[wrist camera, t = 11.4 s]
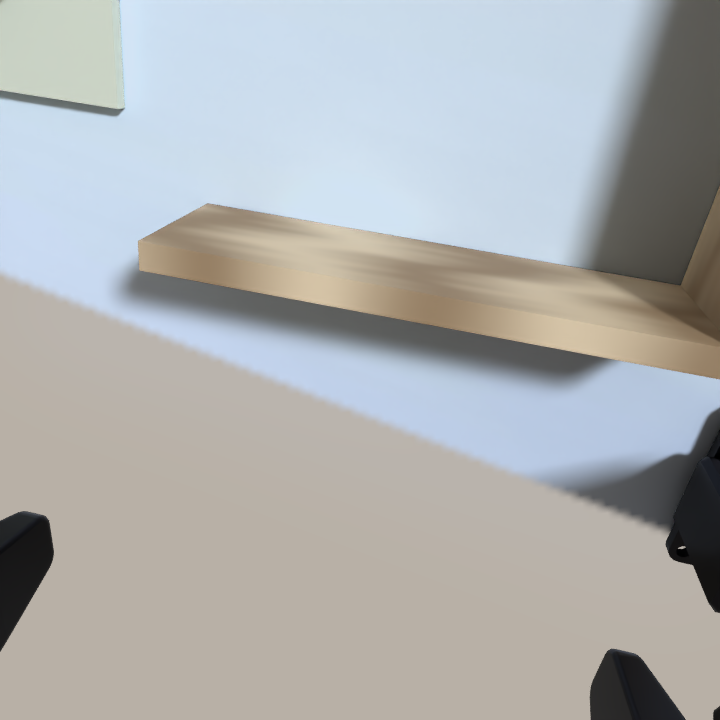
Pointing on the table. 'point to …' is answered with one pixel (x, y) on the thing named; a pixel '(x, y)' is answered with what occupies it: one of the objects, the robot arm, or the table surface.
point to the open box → (455, 285)
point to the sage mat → (62, 50)
